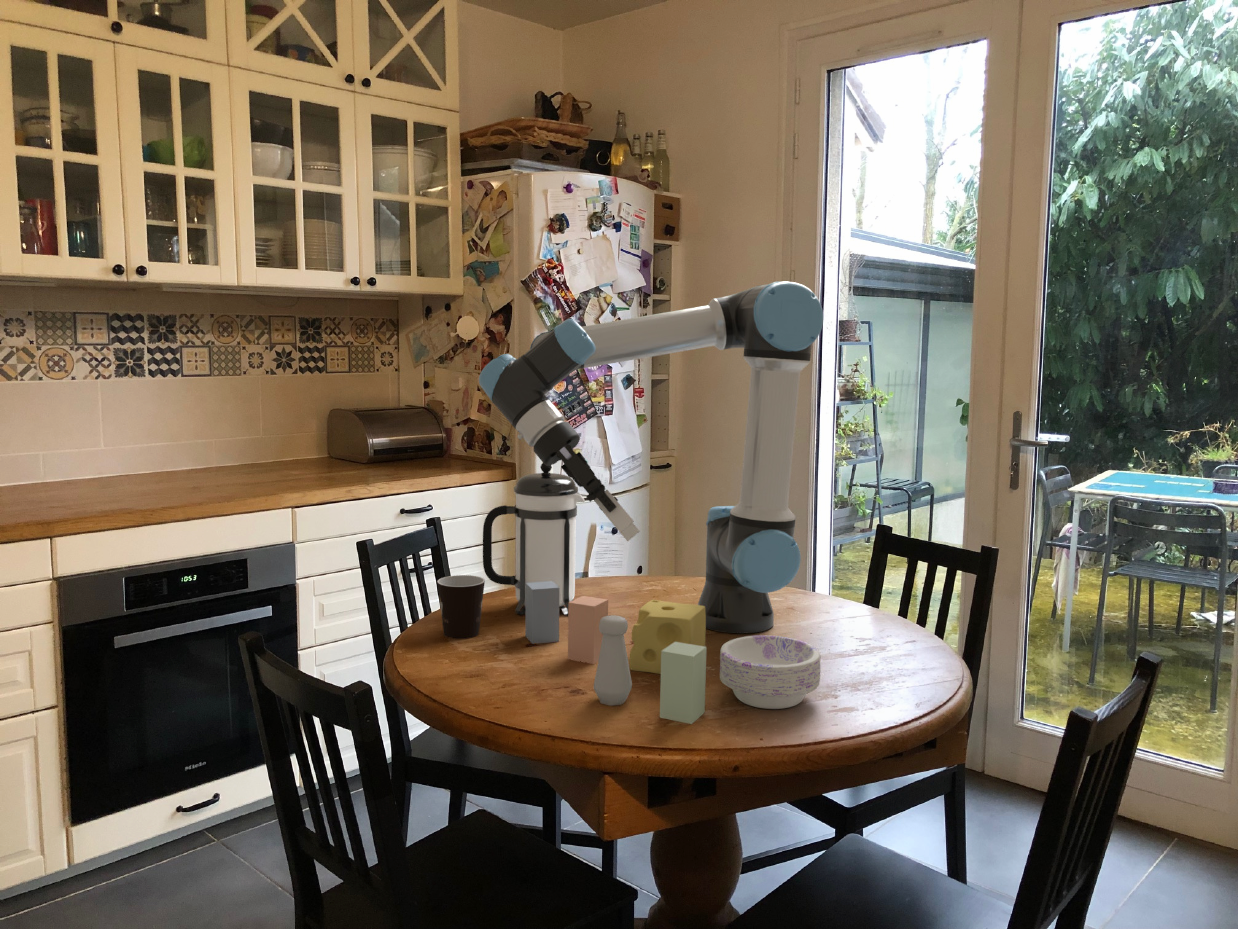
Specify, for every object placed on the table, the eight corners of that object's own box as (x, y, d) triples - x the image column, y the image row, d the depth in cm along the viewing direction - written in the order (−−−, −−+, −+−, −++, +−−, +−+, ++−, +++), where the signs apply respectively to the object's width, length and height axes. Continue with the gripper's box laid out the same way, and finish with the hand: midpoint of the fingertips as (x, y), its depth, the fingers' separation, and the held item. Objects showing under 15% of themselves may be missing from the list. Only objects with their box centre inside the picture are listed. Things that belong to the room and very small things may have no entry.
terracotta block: (582, 651, 171) (582, 595, 170) (607, 655, 169) (608, 599, 167) (567, 659, 166) (568, 602, 165) (593, 664, 164) (594, 606, 163)
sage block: (673, 706, 146) (675, 641, 144) (704, 712, 144) (706, 647, 142) (659, 717, 141) (661, 651, 140) (691, 724, 139) (693, 656, 138)
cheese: (628, 671, 161) (629, 612, 160) (650, 652, 171) (651, 596, 170) (688, 680, 157) (690, 620, 156) (707, 660, 167) (709, 603, 166)
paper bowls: (707, 708, 145) (709, 657, 144) (732, 676, 159) (733, 629, 158) (810, 724, 140) (812, 671, 139) (826, 689, 154) (828, 640, 153)
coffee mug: (475, 642, 175) (475, 588, 173) (430, 638, 176) (429, 584, 175) (496, 624, 186) (496, 573, 185) (453, 621, 188) (453, 570, 186)
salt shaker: (636, 696, 149) (638, 614, 148) (624, 709, 144) (626, 624, 142) (600, 691, 151) (602, 610, 150) (587, 704, 146) (588, 620, 144)
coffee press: (547, 593, 209) (548, 455, 205) (596, 609, 197) (598, 462, 194) (480, 607, 197) (480, 460, 194) (528, 625, 186) (529, 469, 182)
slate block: (551, 633, 181) (552, 581, 179) (559, 641, 176) (559, 587, 175) (525, 635, 179) (525, 582, 178) (532, 644, 174) (532, 589, 173)
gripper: (543, 462, 174) (619, 553, 169) (517, 433, 149) (604, 538, 145) (576, 435, 174) (652, 525, 170) (555, 401, 149) (643, 506, 145)
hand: (630, 532), depth 157 cm, fingers open, 13 cm apart
